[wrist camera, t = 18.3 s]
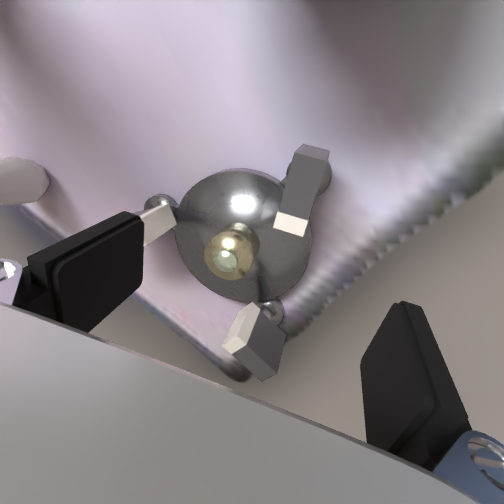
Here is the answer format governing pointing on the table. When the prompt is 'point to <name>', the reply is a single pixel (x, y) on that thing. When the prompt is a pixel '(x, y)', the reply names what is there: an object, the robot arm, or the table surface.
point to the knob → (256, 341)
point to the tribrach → (240, 236)
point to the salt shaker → (21, 181)
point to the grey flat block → (156, 222)
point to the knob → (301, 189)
